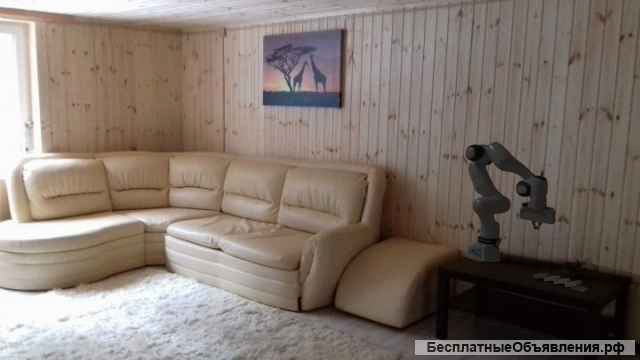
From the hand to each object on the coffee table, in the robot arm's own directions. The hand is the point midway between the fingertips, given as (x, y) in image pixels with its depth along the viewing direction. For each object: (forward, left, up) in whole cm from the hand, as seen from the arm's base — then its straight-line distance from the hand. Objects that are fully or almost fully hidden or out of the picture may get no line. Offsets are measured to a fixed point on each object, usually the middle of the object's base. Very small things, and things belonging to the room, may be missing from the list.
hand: (536, 229), depth 322 cm
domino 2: (+12, -8, -24) cm, 28 cm away
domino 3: (+18, -8, -24) cm, 31 cm away
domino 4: (+24, -9, -24) cm, 35 cm away
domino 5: (+27, -8, -25) cm, 37 cm away
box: (+16, +12, -25) cm, 32 cm away
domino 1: (+6, -8, -24) cm, 26 cm away
